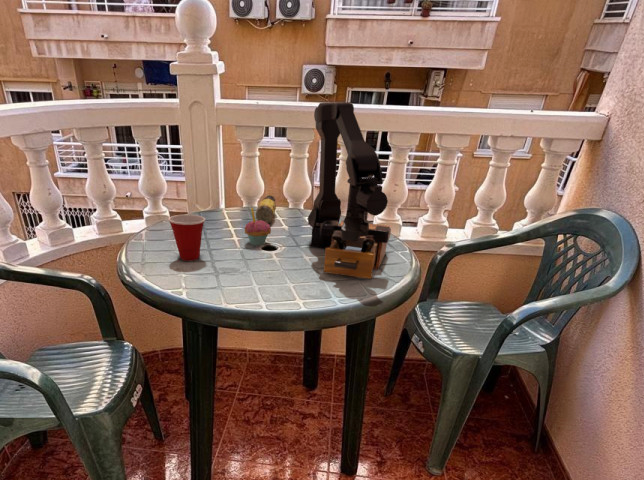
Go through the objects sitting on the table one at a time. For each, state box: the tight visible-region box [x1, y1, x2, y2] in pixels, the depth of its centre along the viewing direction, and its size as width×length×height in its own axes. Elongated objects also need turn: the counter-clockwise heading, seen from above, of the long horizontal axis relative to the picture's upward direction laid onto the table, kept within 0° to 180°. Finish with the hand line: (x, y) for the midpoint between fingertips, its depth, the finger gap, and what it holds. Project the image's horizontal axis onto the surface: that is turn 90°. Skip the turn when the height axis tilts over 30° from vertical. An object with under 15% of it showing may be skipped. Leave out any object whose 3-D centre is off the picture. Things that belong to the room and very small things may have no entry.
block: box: [345, 246, 362, 252], centre depth 138 cm, size 4×4×4 cm
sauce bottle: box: [255, 195, 277, 224], centre depth 180 cm, size 6×6×20 cm
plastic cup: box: [167, 214, 206, 262], centre depth 145 cm, size 11×11×12 cm
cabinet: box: [331, 219, 391, 270], centre depth 147 cm, size 14×15×9 cm
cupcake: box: [244, 205, 272, 246], centre depth 156 cm, size 9×8×12 cm
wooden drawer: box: [323, 240, 379, 279], centre depth 137 cm, size 17×13×7 cm
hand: (351, 261), depth 139 cm, fingers closed on block, 4 cm apart
